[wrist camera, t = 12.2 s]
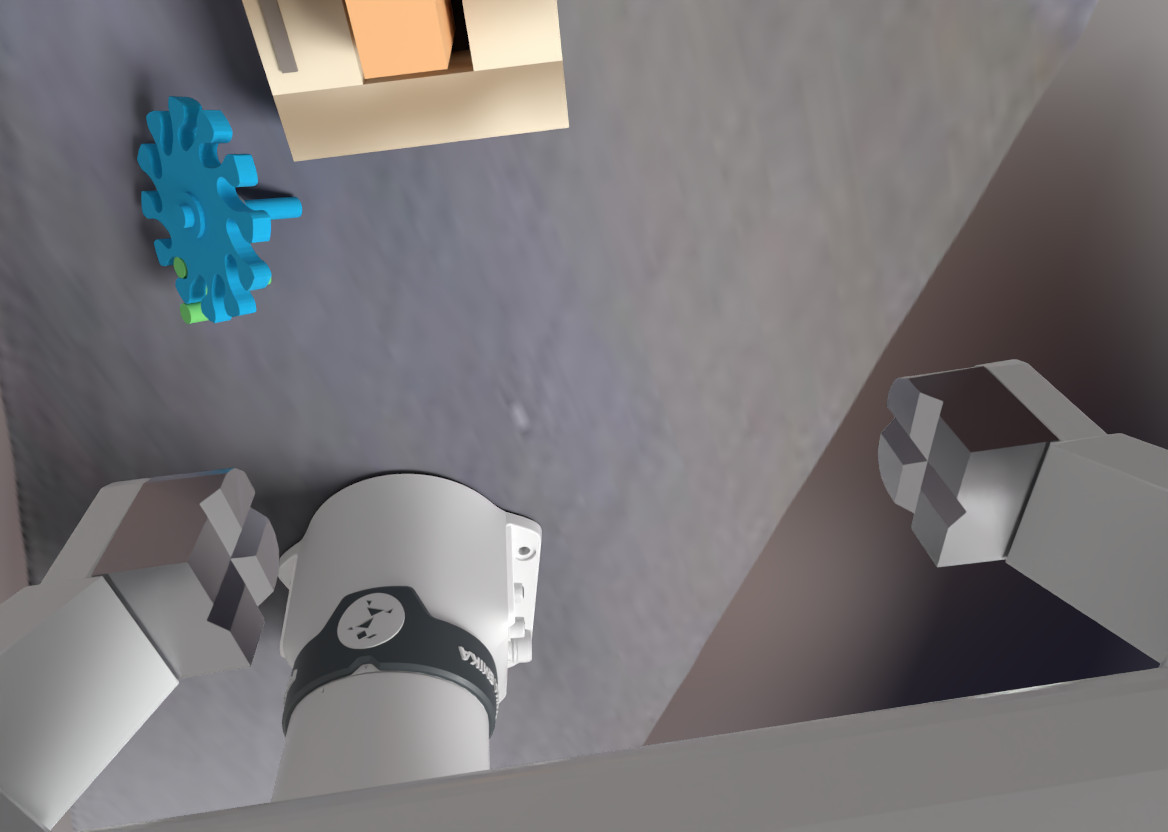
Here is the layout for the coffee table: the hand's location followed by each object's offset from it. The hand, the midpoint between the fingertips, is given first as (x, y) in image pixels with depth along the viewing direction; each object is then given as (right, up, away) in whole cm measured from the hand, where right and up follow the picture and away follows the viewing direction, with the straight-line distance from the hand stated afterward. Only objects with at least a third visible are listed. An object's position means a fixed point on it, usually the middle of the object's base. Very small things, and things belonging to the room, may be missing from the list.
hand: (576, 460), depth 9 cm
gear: (-18, +12, +28) cm, 35 cm away
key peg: (-8, +20, +23) cm, 32 cm away
